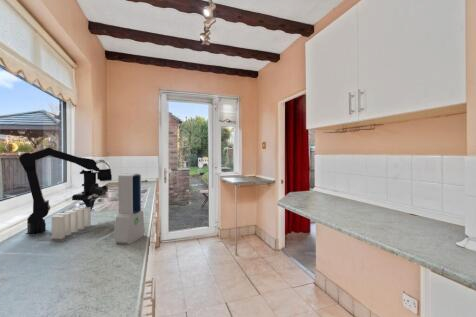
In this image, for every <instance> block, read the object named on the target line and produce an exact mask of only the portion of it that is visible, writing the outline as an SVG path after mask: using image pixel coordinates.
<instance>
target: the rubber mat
mask: <svg viewBox="0 0 476 317" xmlns="http://www.w3.org/2000/svg"><path fill="white" fill-rule="evenodd" d="M98 226H99V225H98V224H97V225H96V224H91V226H89V227H85V229H78V232H71V235H65V238H63V239H52V234H51V235H48V236H45V237H43V238H40V239H38V240H36V242H48V243H49V242H50V243H51V242H52V243H56V242H57V243H62V242H64V241H66V240H69V239H71V238H73V237H75V236H78V235H80V234H83V233H85V232H87V231H89V230H91V229H93V228H94V229H95V227H98Z"/></svg>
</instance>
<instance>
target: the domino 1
mask: <svg viewBox="0 0 476 317" xmlns="http://www.w3.org/2000/svg"><path fill="white" fill-rule="evenodd" d="M51 235H52V239H63V238H65V216H58V215H52V216H51Z"/></svg>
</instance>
